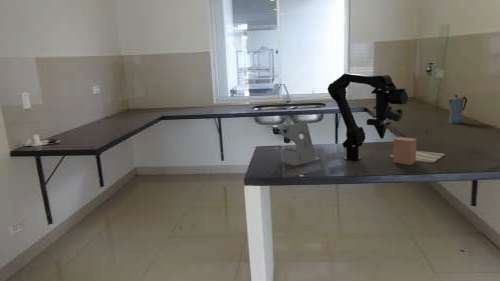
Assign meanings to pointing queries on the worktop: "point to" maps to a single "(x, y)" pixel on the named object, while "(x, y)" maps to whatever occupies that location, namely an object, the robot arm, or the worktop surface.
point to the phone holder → (298, 145)
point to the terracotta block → (404, 150)
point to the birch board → (426, 156)
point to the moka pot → (456, 109)
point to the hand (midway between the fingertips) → (381, 138)
